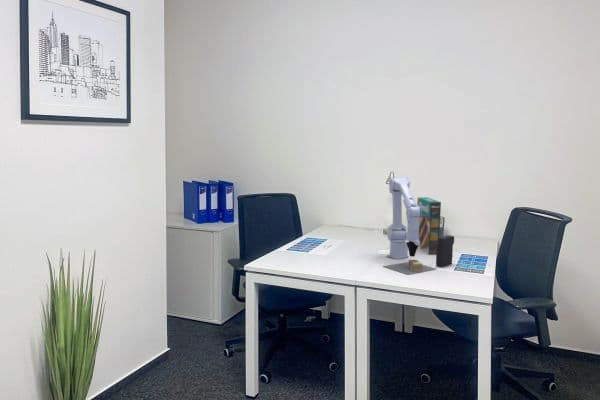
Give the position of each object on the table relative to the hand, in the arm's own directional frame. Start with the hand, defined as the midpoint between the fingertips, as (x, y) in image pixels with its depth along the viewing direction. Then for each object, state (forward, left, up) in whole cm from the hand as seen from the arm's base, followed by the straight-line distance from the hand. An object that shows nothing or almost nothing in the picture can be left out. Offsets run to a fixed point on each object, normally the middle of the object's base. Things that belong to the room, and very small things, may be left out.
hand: (412, 256), depth 265 cm
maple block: (0, +1, -4) cm, 4 cm away
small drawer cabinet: (-18, +5, -6) cm, 20 cm away
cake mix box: (-36, -24, -6) cm, 44 cm away
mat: (+2, 0, -6) cm, 6 cm away
